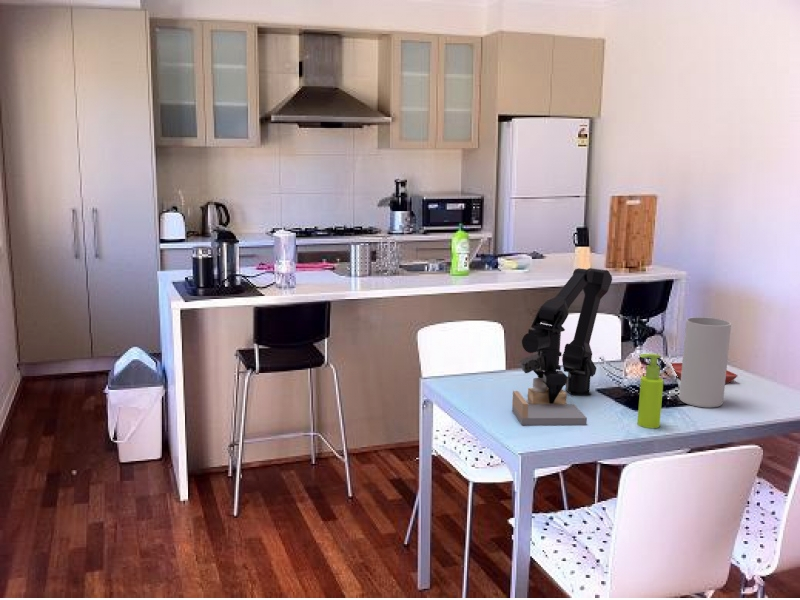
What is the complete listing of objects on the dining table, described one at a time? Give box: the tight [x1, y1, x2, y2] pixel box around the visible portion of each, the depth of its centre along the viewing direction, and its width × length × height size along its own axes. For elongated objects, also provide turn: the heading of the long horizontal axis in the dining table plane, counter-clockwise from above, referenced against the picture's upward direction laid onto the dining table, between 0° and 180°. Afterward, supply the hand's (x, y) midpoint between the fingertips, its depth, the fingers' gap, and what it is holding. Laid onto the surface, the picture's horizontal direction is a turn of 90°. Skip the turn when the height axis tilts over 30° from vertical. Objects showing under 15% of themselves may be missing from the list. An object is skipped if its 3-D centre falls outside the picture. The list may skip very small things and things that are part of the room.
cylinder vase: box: [678, 316, 732, 409], centre depth 233 cm, size 12×12×25 cm
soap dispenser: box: [637, 353, 664, 429], centre depth 212 cm, size 6×7×20 cm
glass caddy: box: [527, 377, 568, 404], centre depth 230 cm, size 10×6×8 cm, turn 95°
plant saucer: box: [671, 362, 738, 384], centre depth 263 cm, size 18×18×3 cm
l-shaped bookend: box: [511, 390, 588, 426], centre depth 217 cm, size 18×12×6 cm, turn 95°
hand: (546, 398), depth 231 cm, fingers open, 9 cm apart
